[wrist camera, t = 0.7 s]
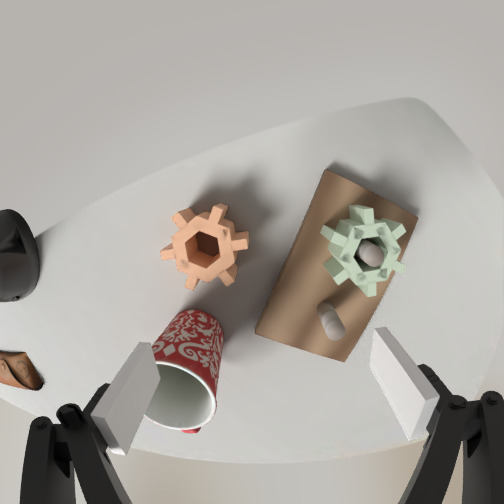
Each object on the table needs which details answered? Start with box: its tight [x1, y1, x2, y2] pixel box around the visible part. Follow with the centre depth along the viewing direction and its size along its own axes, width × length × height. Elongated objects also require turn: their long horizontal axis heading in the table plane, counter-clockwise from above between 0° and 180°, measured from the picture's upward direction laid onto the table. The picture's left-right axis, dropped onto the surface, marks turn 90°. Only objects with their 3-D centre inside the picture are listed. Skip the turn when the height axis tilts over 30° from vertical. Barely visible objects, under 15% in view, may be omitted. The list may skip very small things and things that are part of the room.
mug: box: [144, 310, 224, 433], centre depth 30 cm, size 13×9×14 cm
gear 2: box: [320, 205, 406, 297], centre depth 29 cm, size 9×8×5 cm
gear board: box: [255, 170, 418, 362], centre depth 30 cm, size 13×21×8 cm, turn 158°
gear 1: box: [160, 203, 250, 290], centre depth 31 cm, size 9×8×5 cm
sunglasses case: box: [0, 352, 43, 391], centre depth 40 cm, size 18×7×7 cm, turn 102°
